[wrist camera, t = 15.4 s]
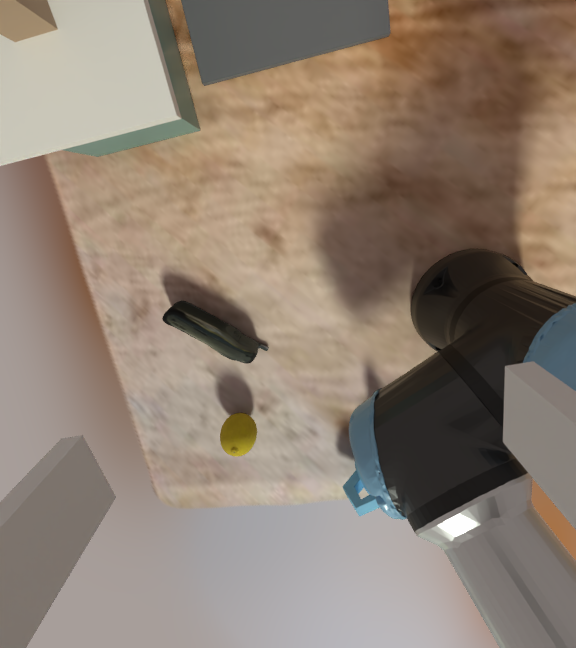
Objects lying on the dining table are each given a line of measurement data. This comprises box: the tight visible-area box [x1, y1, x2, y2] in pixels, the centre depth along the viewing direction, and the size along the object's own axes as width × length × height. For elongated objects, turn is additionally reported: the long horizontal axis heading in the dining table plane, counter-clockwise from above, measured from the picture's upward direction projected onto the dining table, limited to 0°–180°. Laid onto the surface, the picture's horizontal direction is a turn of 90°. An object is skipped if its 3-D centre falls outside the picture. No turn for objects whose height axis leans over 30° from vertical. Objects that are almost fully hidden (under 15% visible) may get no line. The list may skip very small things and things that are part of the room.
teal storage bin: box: [63, 0, 200, 157], centre depth 31 cm, size 13×17×14 cm
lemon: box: [220, 413, 257, 456], centre depth 51 cm, size 6×6×8 cm
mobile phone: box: [163, 301, 269, 363], centre depth 47 cm, size 5×3×15 cm
